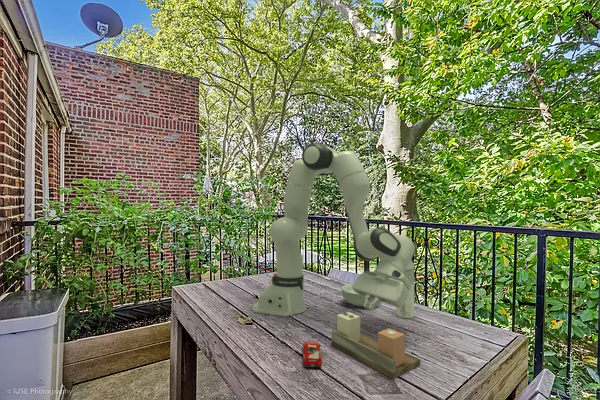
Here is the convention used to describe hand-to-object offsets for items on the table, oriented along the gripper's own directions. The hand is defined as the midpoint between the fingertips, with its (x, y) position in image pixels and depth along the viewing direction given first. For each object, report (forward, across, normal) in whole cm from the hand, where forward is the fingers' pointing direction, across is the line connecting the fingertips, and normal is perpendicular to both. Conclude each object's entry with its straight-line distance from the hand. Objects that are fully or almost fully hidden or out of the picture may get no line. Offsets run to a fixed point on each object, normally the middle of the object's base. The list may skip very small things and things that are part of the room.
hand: (367, 308), depth 99 cm
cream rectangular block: (+12, 0, -1) cm, 12 cm away
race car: (+23, -1, -9) cm, 25 cm away
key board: (+11, +8, +2) cm, 14 cm away
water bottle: (-13, -6, +27) cm, 30 cm away
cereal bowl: (-10, -26, +24) cm, 37 cm away
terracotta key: (+12, +16, -1) cm, 20 cm away
